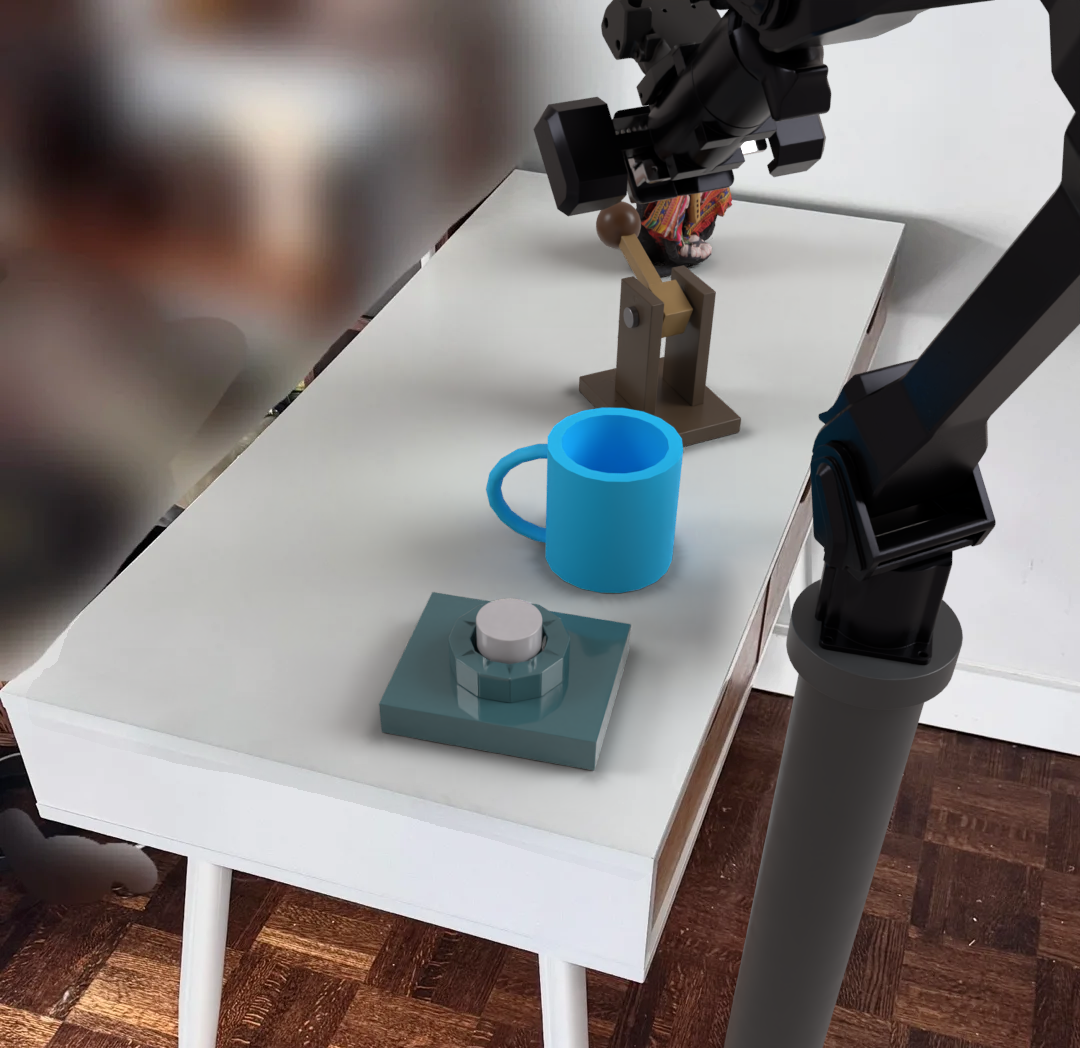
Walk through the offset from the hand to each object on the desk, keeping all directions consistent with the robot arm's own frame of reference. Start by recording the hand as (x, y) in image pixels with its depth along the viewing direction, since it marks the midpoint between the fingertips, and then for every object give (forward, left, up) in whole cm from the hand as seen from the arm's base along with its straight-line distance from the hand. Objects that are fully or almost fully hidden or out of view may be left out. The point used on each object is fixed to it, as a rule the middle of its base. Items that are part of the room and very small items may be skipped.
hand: (633, 195), depth 92 cm
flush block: (0, +36, -14) cm, 39 cm away
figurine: (-1, -21, -14) cm, 25 cm away
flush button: (0, +36, -10) cm, 38 cm away
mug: (-1, +22, -14) cm, 26 cm away
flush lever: (-1, +1, -6) cm, 6 cm away
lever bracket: (-3, +4, -14) cm, 15 cm away
